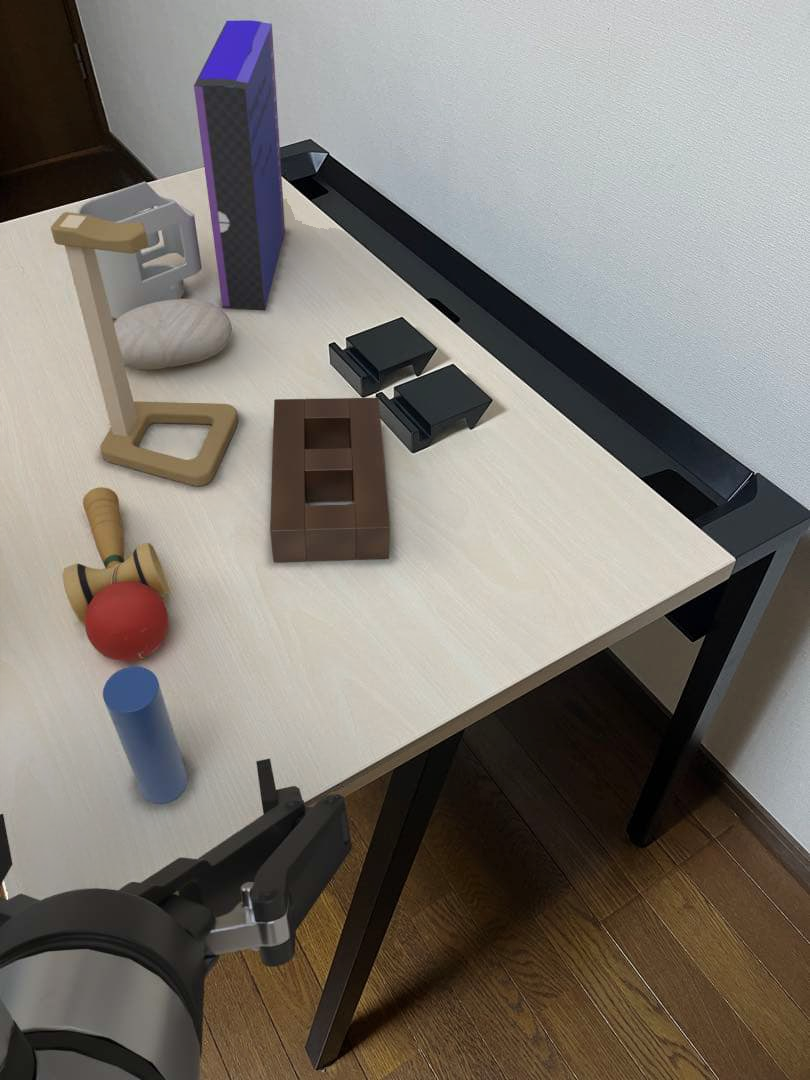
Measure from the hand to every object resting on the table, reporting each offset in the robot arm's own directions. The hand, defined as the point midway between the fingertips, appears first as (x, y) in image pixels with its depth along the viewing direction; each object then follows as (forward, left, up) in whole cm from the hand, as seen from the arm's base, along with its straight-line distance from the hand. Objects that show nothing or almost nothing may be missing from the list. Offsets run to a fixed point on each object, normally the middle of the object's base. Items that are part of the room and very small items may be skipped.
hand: (137, 811), depth 46 cm
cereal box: (+2, +74, -13) cm, 75 cm away
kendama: (-7, +25, -13) cm, 29 cm away
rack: (+10, +36, -13) cm, 39 cm away
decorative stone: (-6, +57, -13) cm, 59 cm away
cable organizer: (-9, +67, -13) cm, 69 cm away
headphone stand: (-5, +43, -13) cm, 45 cm away
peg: (-2, +8, -13) cm, 15 cm away
